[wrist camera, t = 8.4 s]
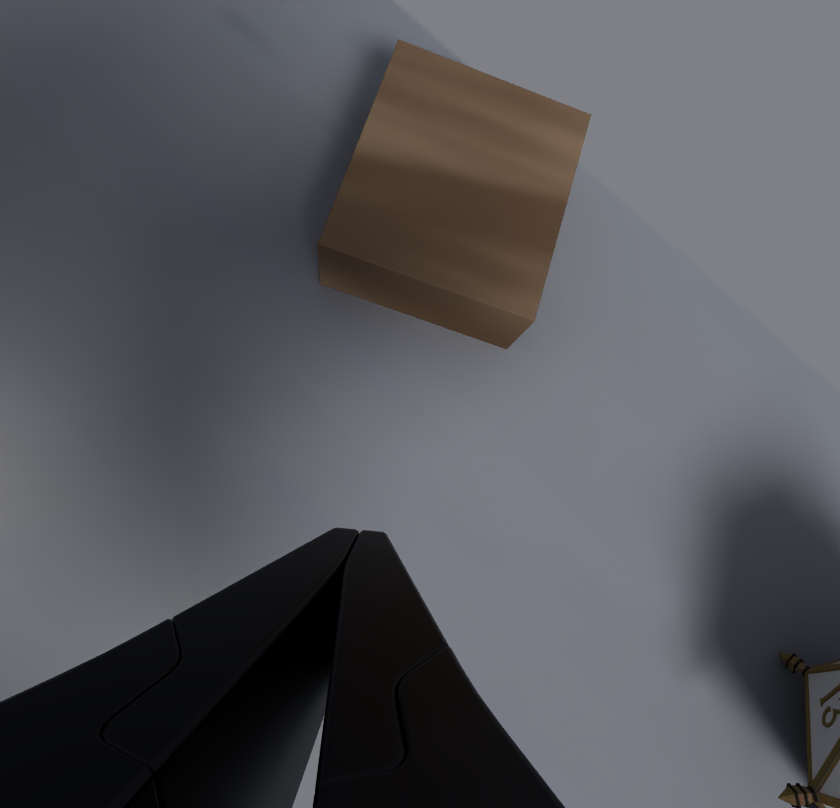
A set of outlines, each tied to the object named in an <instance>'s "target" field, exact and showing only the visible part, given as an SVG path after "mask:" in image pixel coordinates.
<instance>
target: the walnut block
mask: <svg viewBox="0 0 840 808" xmlns="http://www.w3.org/2000/svg"><path fill="white" fill-rule="evenodd" d="M590 117H591V115H590V114H588V113H586V112H583V111H580V110H578V109H575V108H573V107H570V106H568V105H565V104H562V103H559V102H557V101H555V100H552V99H550V98H547V97H545V96H542V95H539V94H537V93H534V92H532V91H529V90H526V89H524V88H522V87H519V86H516V85H514V84H511V83H509V82H506V81H504V80H501V79H498V78H496V77H493V76H491V75H488V74H486V73H483V72H481V71H478V70H475V69H473V68H470V67H468V66H465V65H463V64H460V63H458V62H455V61H452V60H450V59H447V58H445V57H442V56H440V55H437V54H435V53H432V52H429V51H427V50H424V49H422V48H419V47H417V46H414V45H411V44H409V43H406V42H404V41H401V40H398V42H397V45H396V47H395V50H394V52H393V55H392V57H391V60H390V62H389V65H388V67H387V70H386V72H385V75H384V77H383V80H382V83H381V85H380V88H379V90H378V93H377V95H376V98H375V100H374V103H373V105H372V108H371V110H370V113H369V115H368V118H367V120H366V123H365V125H364V128H363V131H362V133H361V136H360V138H359V141H358V143H357V146H356V148H355V151H354V153H353V156H352V158H351V161H350V163H349V166H348V168H347V171H346V174H345V176H344V179H343V181H342V184H341V186H340V189H339V191H338V194H337V196H336V199H335V201H334V204H333V206H332V209H331V211H330V214H329V216H328V219H327V222H326V224H325V227H324V229H323V232H322V234H321V237H320V239H319V242H318V258H319V274H320V284H322V285H325V286H328V287H331V288H334V289H336V290H339V291H342V292H345V293H348V294H351V295H353V296H356V297H359V298H362V299H365V300H368V301H371V302H373V303H376V304H379V305H382V306H385V307H388V308H390V309H393V310H396V311H399V312H402V313H405V314H408V315H410V316H413V317H416V318H419V319H422V320H425V321H428V322H430V323H433V324H436V325H439V326H442V327H445V328H447V329H450V330H453V331H456V332H459V333H462V334H465V335H467V336H470V337H473V338H476V339H479V340H482V341H484V342H487V343H490V344H493V345H496V346H499V347H502V348H504V349H507V348H508V347H509V346H510V345H511V344H512V343H513V342H514V341H515V340H516V339H517V338H518V337H519V336H520V335H521V334H522V333H523V332H524V331H525V330H526V329H527V328H528V327H529V326H530V325H531V324H532V323H533V322H534V320H535V317H536V313H537V309H538V306H539V302H540V298H541V295H542V291H543V288H544V284H545V280H546V277H547V273H548V269H549V266H550V262H551V259H552V255H553V251H554V248H555V244H556V240H557V237H558V233H559V229H560V226H561V222H562V219H563V215H564V211H565V208H566V204H567V200H568V197H569V193H570V190H571V186H572V182H573V179H574V175H575V171H576V168H577V164H578V161H579V157H580V153H581V150H582V146H583V142H584V139H585V135H586V131H587V128H588V124H589V120H590Z"/></svg>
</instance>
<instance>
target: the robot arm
mask: <svg viewBox="0 0 840 808" xmlns="http://www.w3.org/2000/svg"><path fill="white" fill-rule="evenodd" d="M324 714H325V716H324ZM323 717H324V724H323V732H322V740H321V747H320V755H319V763H318V771H317V779H316V787H315V795H314V801H313V808H565V807H564V806H563V804H562V803H561V802H560V800H559V799H558V798H557V796H556V795H555V794H554V793H553V791H552V790H551V789H550V787H549V786H548V785H547V784H546V782H545V781H544V780H543V778H542V777H541V776H540V775H539V773H538V772H537V771H536V769H535V768H534V767H533V766H532V764H531V763H530V762H529V760H528V759H527V758H526V756H525V755H524V754H523V753H522V751H521V750H520V749H519V747H518V746H517V745H516V744H515V742H514V741H513V740H512V738H511V737H510V736H509V735H508V733H507V732H506V731H505V729H504V728H503V727H502V726H501V724H500V723H499V721H498V720H497V719H496V717H495V716H494V715H493V713H492V712H491V711H490V709H489V708H488V706H487V705H486V704H485V702H484V701H483V700H482V698H481V697H480V695H479V694H478V693H477V691H476V689H475V688H474V686H473V685H472V683H471V681H470V680H469V678H468V677H467V675H466V673H465V672H464V670H463V668H462V667H461V665H460V663H459V662H458V660H457V658H456V656H455V654H454V653H453V651H452V649H451V648H450V647H449V645H448V643H447V642H446V640H445V638H444V636H443V634H442V633H441V631H440V629H439V627H438V626H437V624H436V622H435V620H434V618H433V617H432V615H431V613H430V611H429V609H428V608H427V606H426V604H425V602H424V601H423V599H422V597H421V595H420V593H419V592H418V590H417V588H416V586H415V585H414V583H413V581H412V579H411V577H410V576H409V574H408V572H407V570H406V568H405V567H404V565H403V563H402V561H401V560H400V558H399V556H398V554H397V552H396V551H395V549H394V547H393V545H392V543H391V542H390V540H389V538H388V536H387V535H386V534H385V533H384V532H378V531H367V530H363V531H361V532H360V533H359V532H358V531H357V530H355V529H346V528H334V529H331V530H330V531H328V532H326V533H324V534H322V535H321V536H319V537H317V538H315V539H313V540H312V541H310V542H308V543H306V544H304V545H303V546H301V547H299V548H297V549H295V550H294V551H292V552H290V553H288V554H286V555H284V556H283V557H281V558H279V559H277V560H275V561H274V562H272V563H270V564H268V565H266V566H265V567H263V568H261V569H259V570H257V571H256V572H254V573H252V574H250V575H248V576H247V577H245V578H243V579H241V580H239V581H238V582H236V583H234V584H232V585H230V586H228V587H227V588H225V589H223V590H221V591H219V592H218V593H216V594H214V595H212V596H210V597H209V598H207V599H205V600H203V601H201V602H200V603H198V604H196V605H194V606H192V607H190V608H189V609H187V610H185V611H183V612H181V613H180V614H178V615H176V616H174V617H173V618H172V620H170V619H167V620H165V621H163V622H161V623H160V624H158V625H156V626H154V627H152V628H151V629H149V630H147V631H145V632H143V633H141V634H139V635H138V636H136V637H134V638H132V639H130V640H128V641H126V642H124V643H122V644H120V645H119V646H117V647H115V648H113V649H111V650H109V651H107V652H105V653H103V654H101V655H99V656H97V657H95V658H93V659H91V660H89V661H87V662H85V663H82V664H80V665H78V666H76V667H74V668H72V669H70V670H68V671H66V672H64V673H62V674H60V675H57V676H55V677H53V678H51V679H49V680H47V681H45V682H42V683H40V684H38V685H36V686H34V687H32V688H29V689H27V690H25V691H23V692H21V693H19V694H17V695H14V696H12V697H10V698H8V699H6V700H4V701H1V702H0V808H292V806H293V803H294V800H295V798H296V795H297V792H298V789H299V786H300V783H301V780H302V777H303V775H304V772H305V769H306V766H307V763H308V760H309V757H310V754H311V751H312V749H313V746H314V743H315V740H316V737H317V734H318V731H319V728H320V726H321V723H322V720H323Z"/></svg>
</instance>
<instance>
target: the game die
mask: <svg viewBox="0 0 840 808" xmlns="http://www.w3.org/2000/svg"><path fill="white" fill-rule="evenodd" d="M780 655H781V657H782V659H783V661H784V663H785V665H786V666H785V668H786V669H787V668H789V669H791V670H792V671H793V673H798V674H801V675H802V676H803V677H804V688H805V715H806V743H807V770H808V787H804V786H801V785H800V784H799V783H796V785H791V784H790V783H787V787H786V789H785V790H784V791H783V792H782V793H781V795H780V796H779V797H778V798H779V799H781V800H783V801H785V802H787V803H789V804H791V805H792V807H795V808H801V806H805V807H810V806H809V804H811V803H813V802H814V803H815V804H816V805H817V806H818V807H819V808H840V659H839V660H835V661H832V662H828V663H825V664H821V665H818V666H814V667H811V668H810V667H807V666H806V665H805V664H804V661H803V660H802V659H799V658H797V656H796V655H795V654H794V653H793V654H784V653H780Z"/></svg>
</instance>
